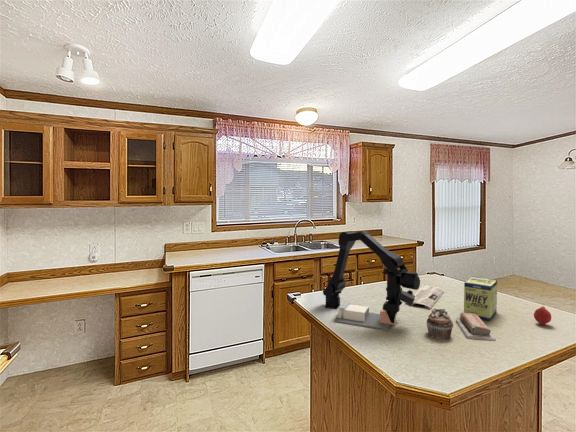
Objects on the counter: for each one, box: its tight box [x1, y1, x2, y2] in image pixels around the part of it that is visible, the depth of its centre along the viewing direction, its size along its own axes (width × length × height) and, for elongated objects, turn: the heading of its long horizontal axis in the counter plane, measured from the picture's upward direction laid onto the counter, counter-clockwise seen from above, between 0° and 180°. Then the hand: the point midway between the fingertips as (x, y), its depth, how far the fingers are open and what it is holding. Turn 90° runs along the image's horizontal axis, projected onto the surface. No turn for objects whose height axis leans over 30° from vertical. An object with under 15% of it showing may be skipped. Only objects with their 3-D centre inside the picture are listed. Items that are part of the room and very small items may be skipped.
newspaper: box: [408, 283, 445, 310], centre depth 171 cm, size 35×12×4 cm, turn 143°
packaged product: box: [455, 312, 497, 342], centre depth 130 cm, size 18×5×10 cm
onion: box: [533, 305, 552, 326], centre depth 134 cm, size 6×6×8 cm
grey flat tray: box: [334, 301, 392, 332], centre depth 142 cm, size 23×16×6 cm
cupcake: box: [426, 308, 454, 340], centre depth 125 cm, size 10×10×10 cm
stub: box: [379, 307, 397, 326], centre depth 138 cm, size 6×5×5 cm
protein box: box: [463, 276, 498, 322], centre depth 146 cm, size 10×16×16 cm
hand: (393, 320), depth 137 cm, fingers closed on stub, 5 cm apart
